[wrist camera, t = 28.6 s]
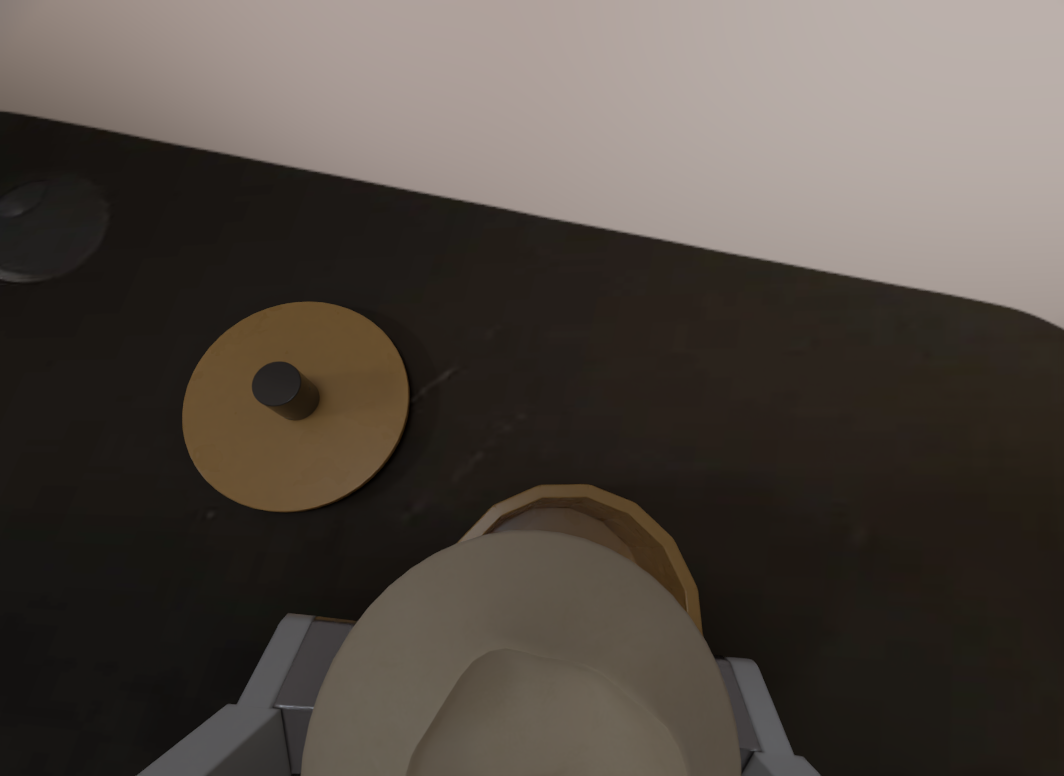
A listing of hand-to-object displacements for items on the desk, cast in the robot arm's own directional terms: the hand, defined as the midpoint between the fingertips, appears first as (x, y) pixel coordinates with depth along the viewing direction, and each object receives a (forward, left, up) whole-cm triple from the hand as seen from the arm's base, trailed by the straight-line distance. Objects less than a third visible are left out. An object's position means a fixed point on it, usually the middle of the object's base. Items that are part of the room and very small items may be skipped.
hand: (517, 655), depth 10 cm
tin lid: (+10, +11, -18) cm, 24 cm away
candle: (-1, 0, -6) cm, 6 cm away
